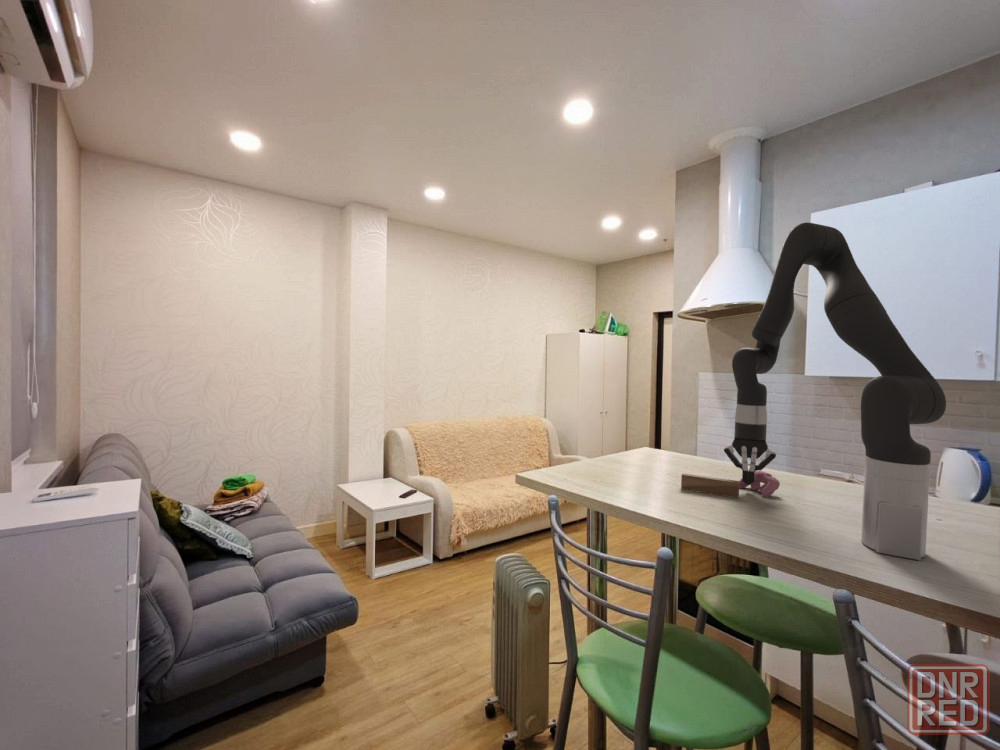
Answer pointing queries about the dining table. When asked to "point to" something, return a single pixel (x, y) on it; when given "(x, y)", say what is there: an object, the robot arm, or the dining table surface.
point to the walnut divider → (710, 485)
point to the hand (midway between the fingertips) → (748, 483)
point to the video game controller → (763, 477)
